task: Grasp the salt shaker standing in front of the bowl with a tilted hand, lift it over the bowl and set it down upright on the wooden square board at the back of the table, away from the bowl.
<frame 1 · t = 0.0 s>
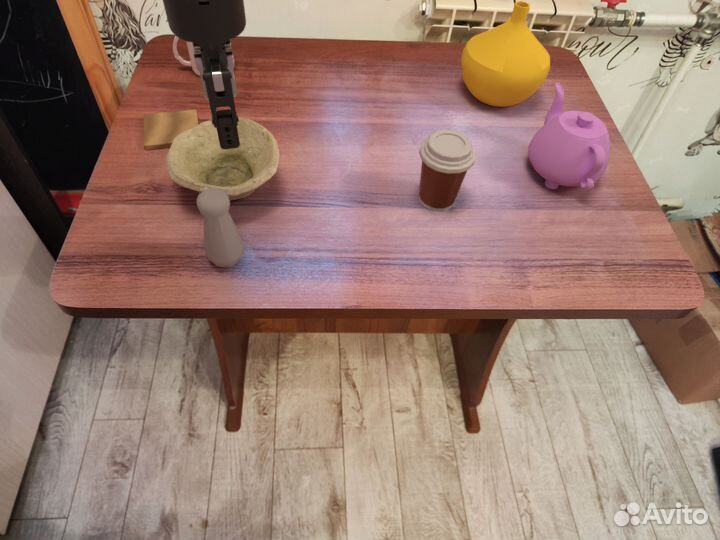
hand: (226, 124, 58), 23 cm above the table, tool pointing down, fingers open, 8 cm apart
vase: (494, 95, 108), on the table
teapot: (556, 169, 93), on the table
salt shaker: (227, 258, 75), on the table
mug: (207, 68, 108), on the table
wooden square board: (172, 131, 93), on the table
bowl: (229, 188, 85), on the table
coffee cup: (436, 199, 86), on the table
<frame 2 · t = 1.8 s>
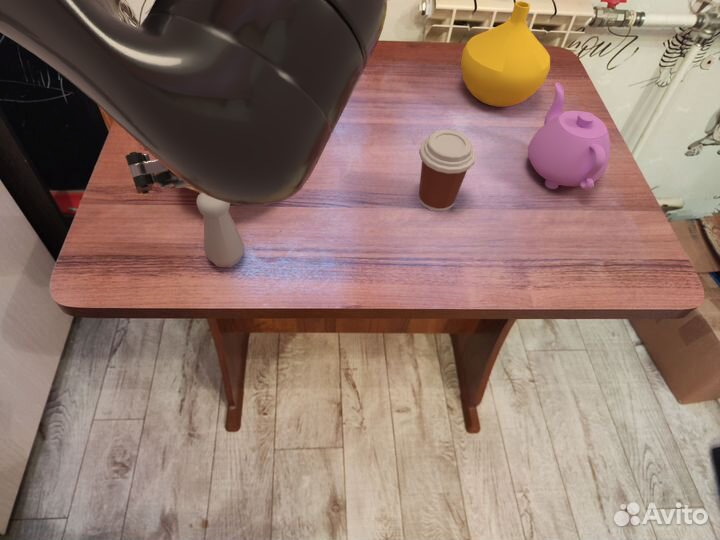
hand: (214, 167, 48), 27 cm above the table, tool tilted 45°, fingers open, 8 cm apart
nothing on the table moved.
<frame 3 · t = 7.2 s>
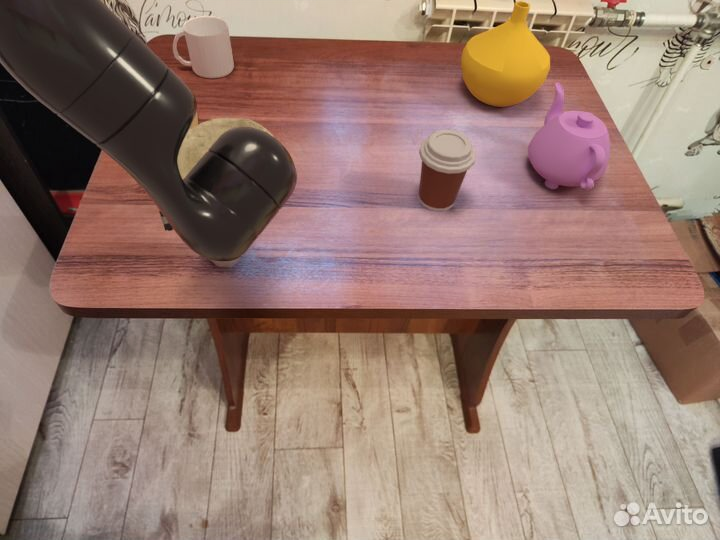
hand: (214, 209, 69), 9 cm above the table, tool tilted 45°, fingers closed on salt shaker, 4 cm apart
salt shaker: (227, 258, 75), on the table, touching gripper
everything else where it was.
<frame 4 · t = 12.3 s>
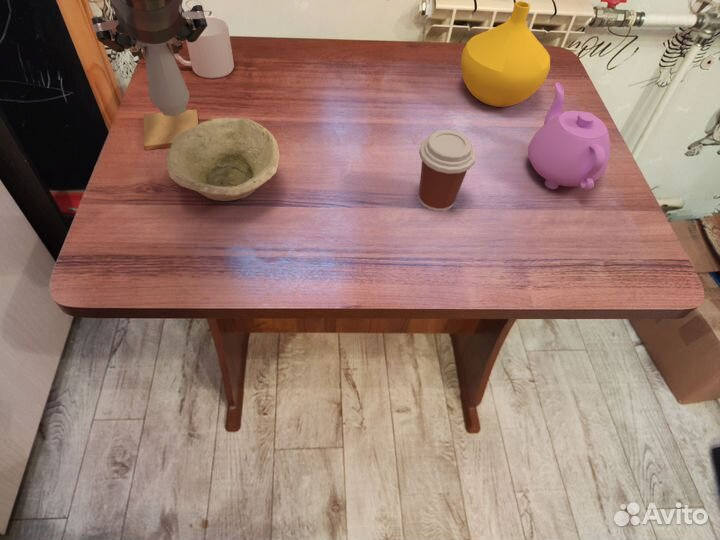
hand: (156, 49, 70), 22 cm above the table, tool tilted 45°, fingers closed on salt shaker, 4 cm apart
salt shaker: (173, 109, 76), point 13 cm above the table, touching gripper
everything else where it was.
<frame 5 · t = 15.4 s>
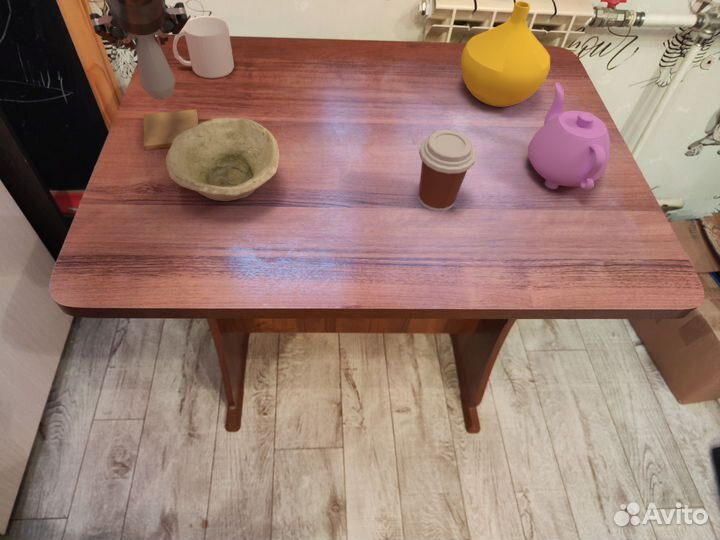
hand: (145, 41, 81), 17 cm above the table, tool tilted 45°, fingers closed on salt shaker, 4 cm apart
salt shaker: (161, 94, 87), point 8 cm above the table, touching gripper
everything else where it was.
when the fingers open (10 cm above the table, at t = 17.7 s): salt shaker stays where it is, resting on wooden square board.
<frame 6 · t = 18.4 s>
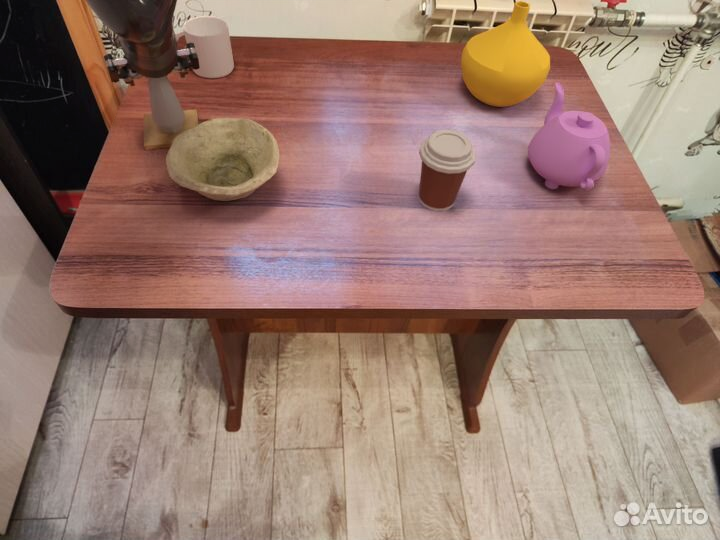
hand: (156, 76, 86), 11 cm above the table, tool tilted 45°, fingers open, 8 cm apart
salt shaker: (171, 127, 93), point 1 cm above the table, touching wooden square board
everything else where it was.
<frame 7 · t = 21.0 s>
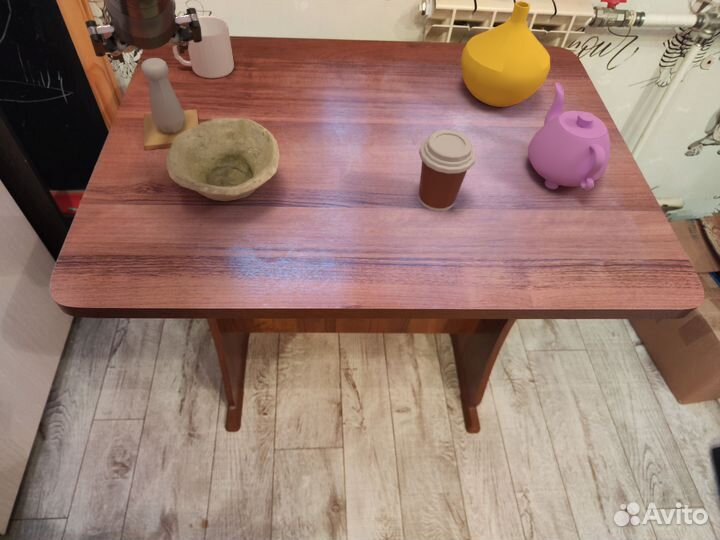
hand: (150, 51, 72), 20 cm above the table, tool tilted 45°, fingers open, 8 cm apart
nothing on the table moved.
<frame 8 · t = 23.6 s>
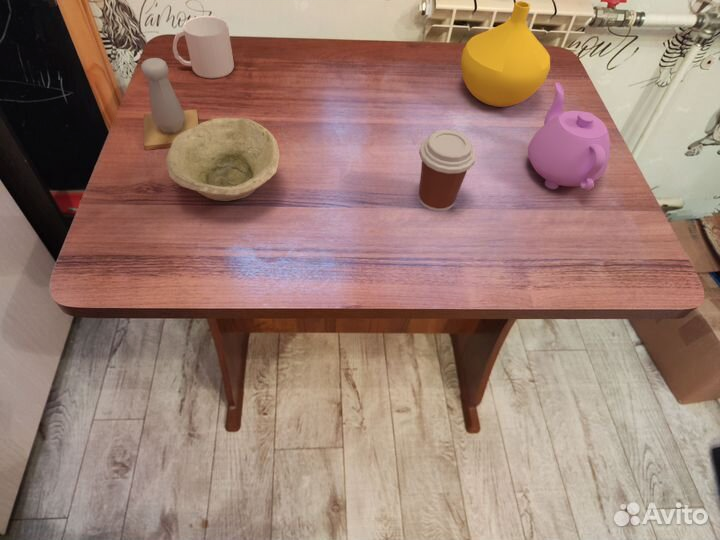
nothing on the table moved.
at the end: salt shaker inside the target area on the wooden square board (0.1 cm from its centre), point 0.8 cm above the wooden square board's base; salt shaker tilted 0°; the gripper is holding nothing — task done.
